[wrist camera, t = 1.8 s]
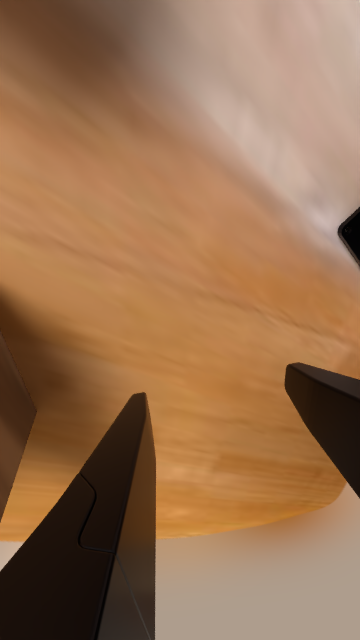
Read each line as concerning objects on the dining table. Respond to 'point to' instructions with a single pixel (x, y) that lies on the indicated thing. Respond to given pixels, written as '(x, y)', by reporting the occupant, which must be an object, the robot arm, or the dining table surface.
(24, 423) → the tee block
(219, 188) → the dining table surface
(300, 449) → the dining table surface
